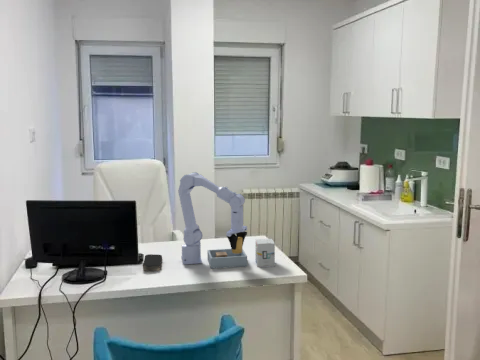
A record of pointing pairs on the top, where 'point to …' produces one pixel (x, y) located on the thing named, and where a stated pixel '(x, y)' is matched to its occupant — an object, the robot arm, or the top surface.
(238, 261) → the tote
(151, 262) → the black sponge
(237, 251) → the tan rounded piece
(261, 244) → the ink box
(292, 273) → the top surface
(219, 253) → the walnut cube
